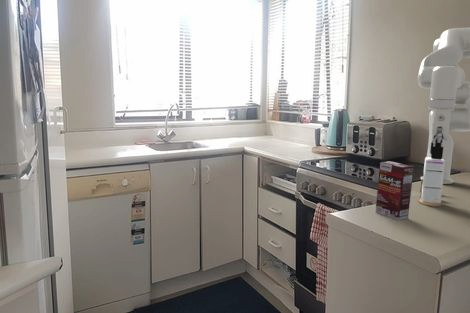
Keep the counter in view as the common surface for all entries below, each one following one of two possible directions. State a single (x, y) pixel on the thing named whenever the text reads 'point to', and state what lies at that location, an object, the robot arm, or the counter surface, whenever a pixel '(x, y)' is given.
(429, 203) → the disc
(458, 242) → the counter surface
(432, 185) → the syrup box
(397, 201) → the supplement box
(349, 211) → the counter surface
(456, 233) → the counter surface
